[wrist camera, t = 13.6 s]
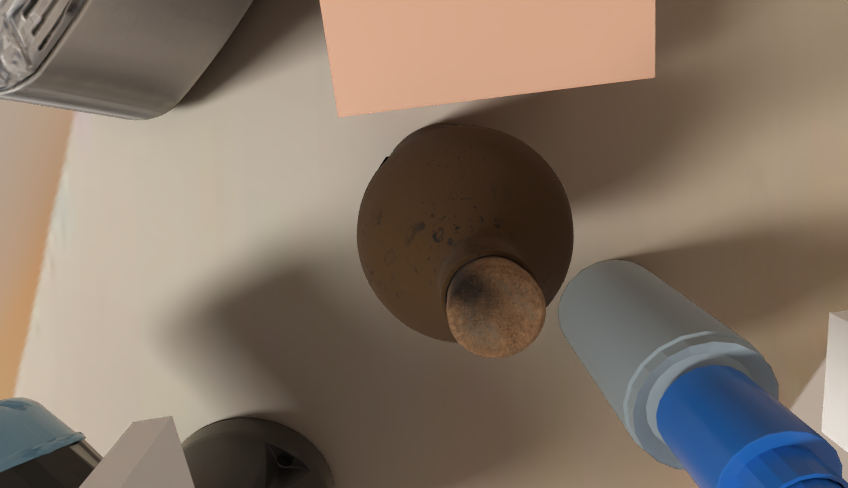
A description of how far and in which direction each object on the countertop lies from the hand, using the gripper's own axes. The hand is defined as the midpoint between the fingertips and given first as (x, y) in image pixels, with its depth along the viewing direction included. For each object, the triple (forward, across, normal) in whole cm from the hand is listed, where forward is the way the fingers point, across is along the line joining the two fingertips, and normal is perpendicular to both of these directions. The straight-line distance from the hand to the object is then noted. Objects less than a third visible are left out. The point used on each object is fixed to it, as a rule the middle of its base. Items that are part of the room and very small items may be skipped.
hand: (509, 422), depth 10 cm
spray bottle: (+31, +14, -13) cm, 36 cm away
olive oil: (+31, +1, 0) cm, 31 cm away
